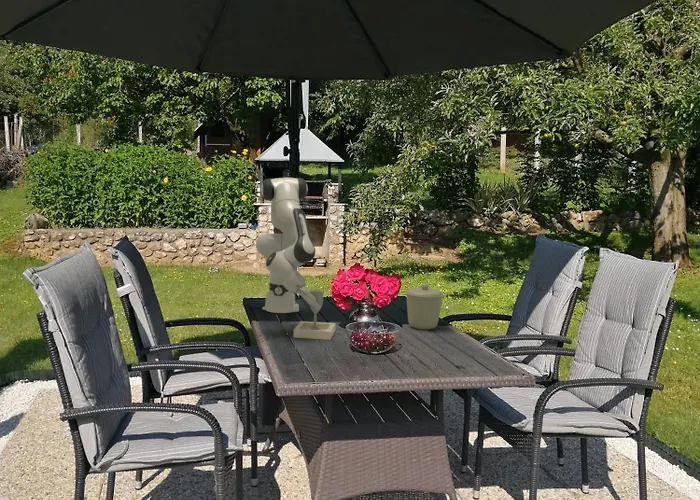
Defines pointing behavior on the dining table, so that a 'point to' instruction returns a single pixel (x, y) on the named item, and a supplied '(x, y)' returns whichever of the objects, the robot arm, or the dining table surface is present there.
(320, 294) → the chalice
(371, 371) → the dining table surface
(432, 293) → the canister
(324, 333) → the tray
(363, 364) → the dining table surface
